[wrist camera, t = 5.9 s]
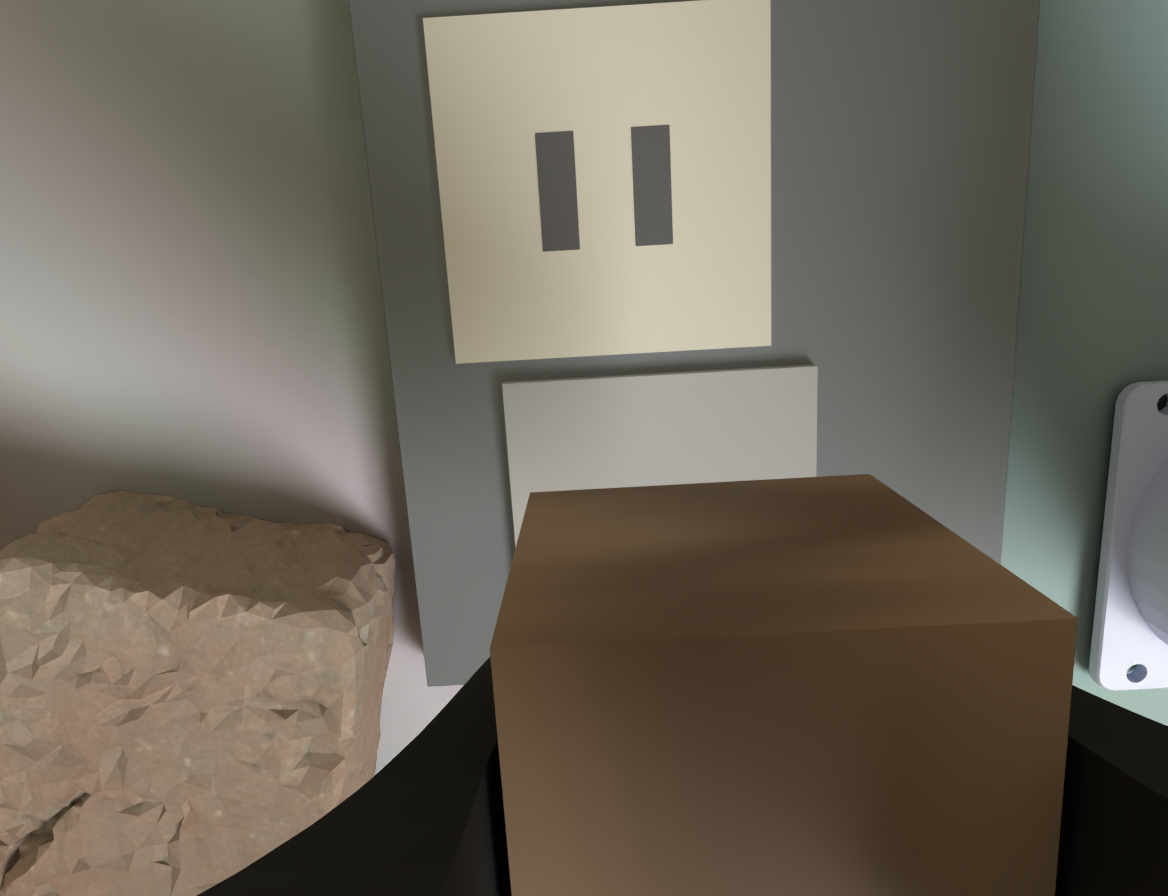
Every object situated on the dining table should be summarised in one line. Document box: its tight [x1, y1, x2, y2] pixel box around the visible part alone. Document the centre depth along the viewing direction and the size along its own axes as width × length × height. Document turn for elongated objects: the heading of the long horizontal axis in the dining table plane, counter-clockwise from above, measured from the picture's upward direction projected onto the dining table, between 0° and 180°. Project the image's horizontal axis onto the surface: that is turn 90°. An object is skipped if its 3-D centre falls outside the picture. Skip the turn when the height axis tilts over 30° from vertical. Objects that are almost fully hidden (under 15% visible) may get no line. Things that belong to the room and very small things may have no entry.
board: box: [349, 0, 1040, 686], centre depth 17 cm, size 14×24×1 cm, turn 3°
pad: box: [502, 364, 818, 548], centre depth 18 cm, size 7×7×1 cm
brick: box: [0, 491, 396, 896], centre depth 20 cm, size 17×8×5 cm, turn 171°
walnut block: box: [490, 474, 1077, 896], centre depth 10 cm, size 5×5×5 cm
